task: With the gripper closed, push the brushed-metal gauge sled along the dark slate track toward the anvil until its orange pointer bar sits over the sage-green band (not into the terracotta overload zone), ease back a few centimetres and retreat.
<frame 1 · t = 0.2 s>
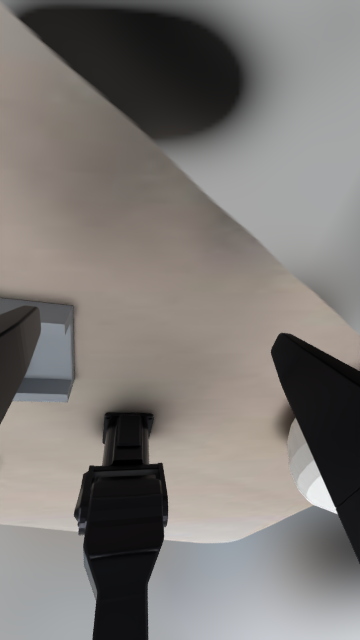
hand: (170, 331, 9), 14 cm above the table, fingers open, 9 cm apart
vase: (323, 411, 40), on the table
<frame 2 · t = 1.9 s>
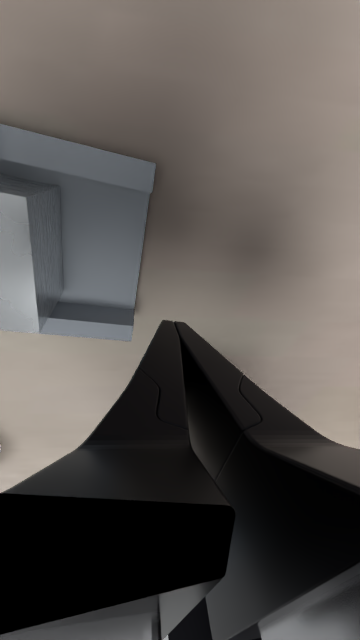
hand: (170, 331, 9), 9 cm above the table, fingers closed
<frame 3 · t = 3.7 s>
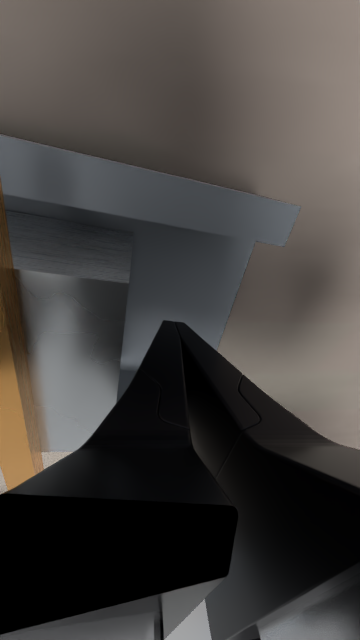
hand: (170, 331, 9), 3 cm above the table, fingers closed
gauge sled: (39, 336, 8), point 4 cm above the table, slide at 0.2 cm, touching gripper
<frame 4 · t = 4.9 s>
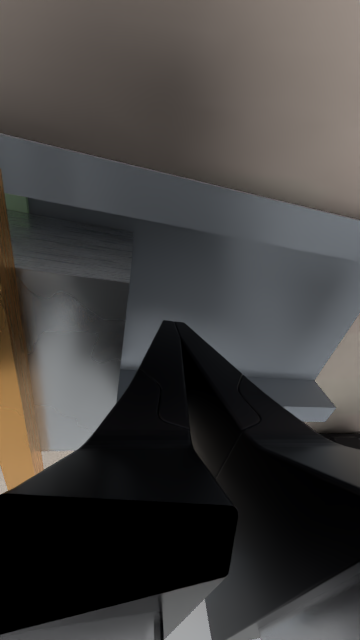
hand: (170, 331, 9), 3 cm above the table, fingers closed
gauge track: (129, 291, 11), on the table
gauge sled: (39, 335, 8), point 4 cm above the table, slide at 7.1 cm, touching gripper
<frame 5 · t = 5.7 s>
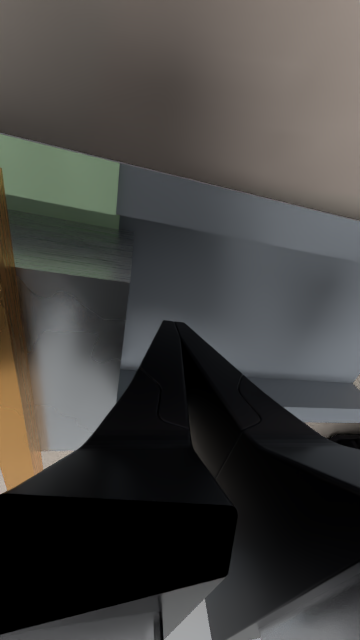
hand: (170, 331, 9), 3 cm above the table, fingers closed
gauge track: (188, 299, 12), on the table
gauge sled: (39, 335, 8), point 4 cm above the table, slide at 10.0 cm, touching gripper
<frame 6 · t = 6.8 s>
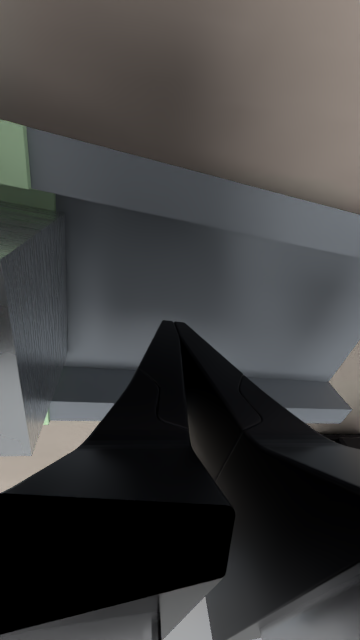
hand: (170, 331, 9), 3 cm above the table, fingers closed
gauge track: (148, 291, 11), on the table
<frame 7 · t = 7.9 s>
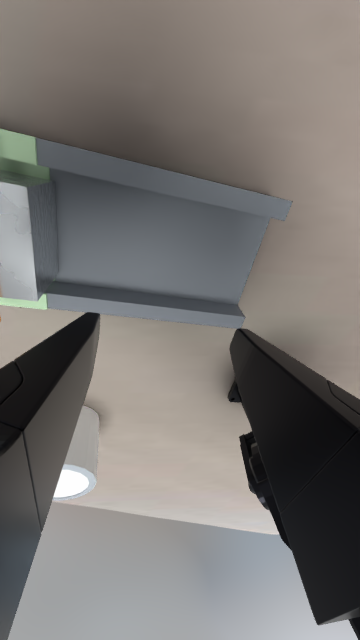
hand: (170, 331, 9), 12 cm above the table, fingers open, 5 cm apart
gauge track: (108, 235, 18), on the table
shot glass: (75, 418, 29), on the table
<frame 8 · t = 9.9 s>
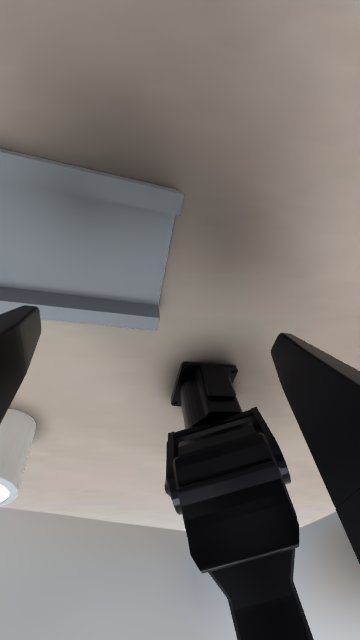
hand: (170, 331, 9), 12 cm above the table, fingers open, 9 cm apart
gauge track: (4, 231, 17), on the table
shot glass: (10, 423, 28), on the table
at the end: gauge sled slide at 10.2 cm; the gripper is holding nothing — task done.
